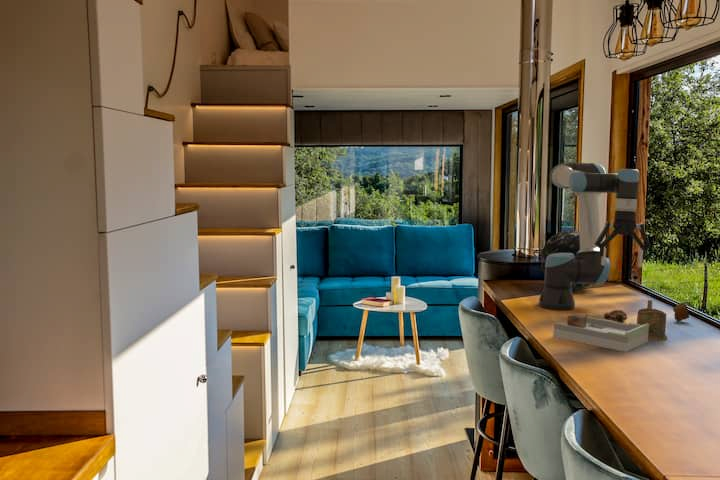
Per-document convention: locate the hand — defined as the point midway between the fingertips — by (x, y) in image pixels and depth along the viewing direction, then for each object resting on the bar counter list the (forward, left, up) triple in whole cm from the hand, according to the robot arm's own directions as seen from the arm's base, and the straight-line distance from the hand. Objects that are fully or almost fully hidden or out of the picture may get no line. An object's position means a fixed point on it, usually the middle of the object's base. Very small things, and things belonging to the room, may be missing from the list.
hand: (621, 265), depth 265 cm
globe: (-48, +63, -24) cm, 83 cm away
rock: (+15, +31, -24) cm, 42 cm away
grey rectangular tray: (+4, -24, -24) cm, 34 cm away
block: (-5, -24, -21) cm, 32 cm away
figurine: (-4, +10, -24) cm, 26 cm away
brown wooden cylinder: (+13, -3, -24) cm, 28 cm away
